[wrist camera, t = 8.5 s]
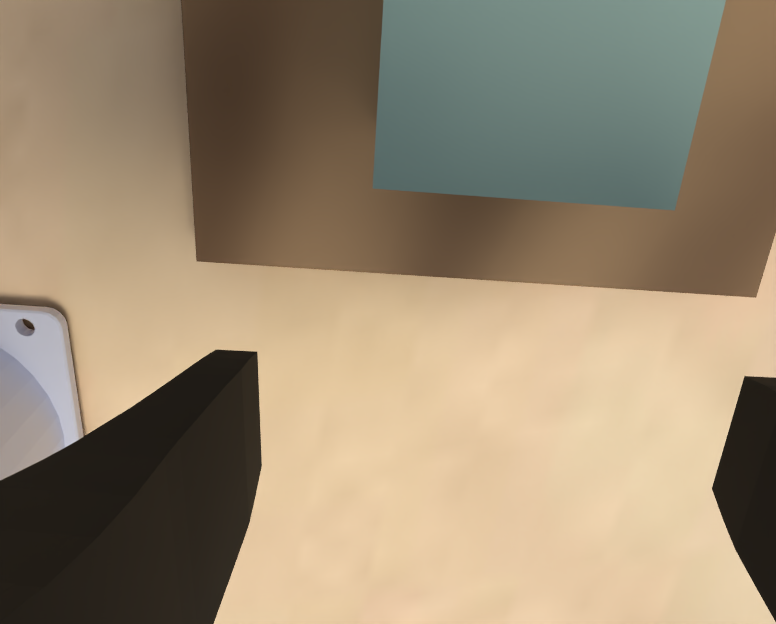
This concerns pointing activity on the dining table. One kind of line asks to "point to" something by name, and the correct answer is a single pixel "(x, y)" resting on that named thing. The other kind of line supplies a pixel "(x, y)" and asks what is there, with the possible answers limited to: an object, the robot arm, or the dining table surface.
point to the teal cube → (542, 97)
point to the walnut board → (448, 211)
